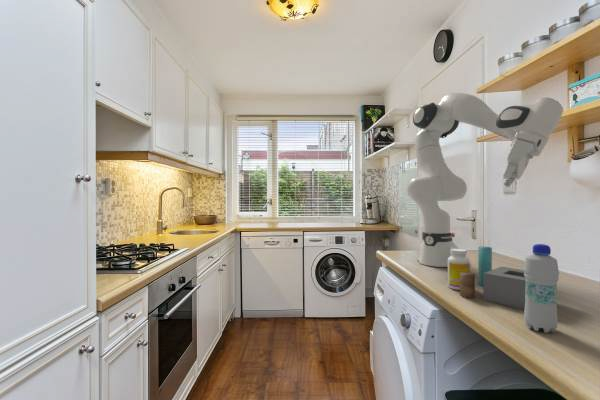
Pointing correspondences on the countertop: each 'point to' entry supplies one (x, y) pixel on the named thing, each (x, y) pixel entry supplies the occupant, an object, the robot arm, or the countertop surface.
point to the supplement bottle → (457, 267)
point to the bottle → (541, 289)
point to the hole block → (505, 286)
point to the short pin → (467, 285)
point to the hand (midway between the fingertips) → (505, 182)
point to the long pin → (484, 263)
